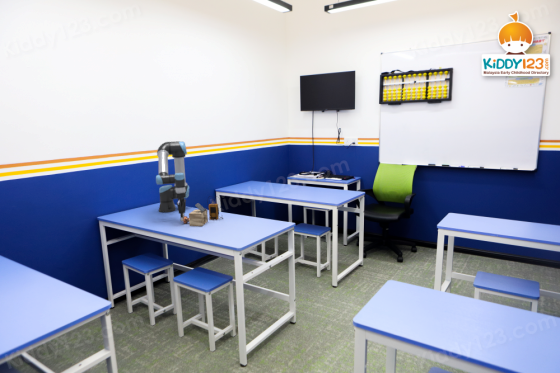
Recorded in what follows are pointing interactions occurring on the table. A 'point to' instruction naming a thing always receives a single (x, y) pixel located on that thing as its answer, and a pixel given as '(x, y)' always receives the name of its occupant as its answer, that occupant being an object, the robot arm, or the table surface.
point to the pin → (185, 219)
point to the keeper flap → (200, 207)
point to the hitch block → (198, 217)
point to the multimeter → (213, 210)
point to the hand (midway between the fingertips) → (182, 220)
